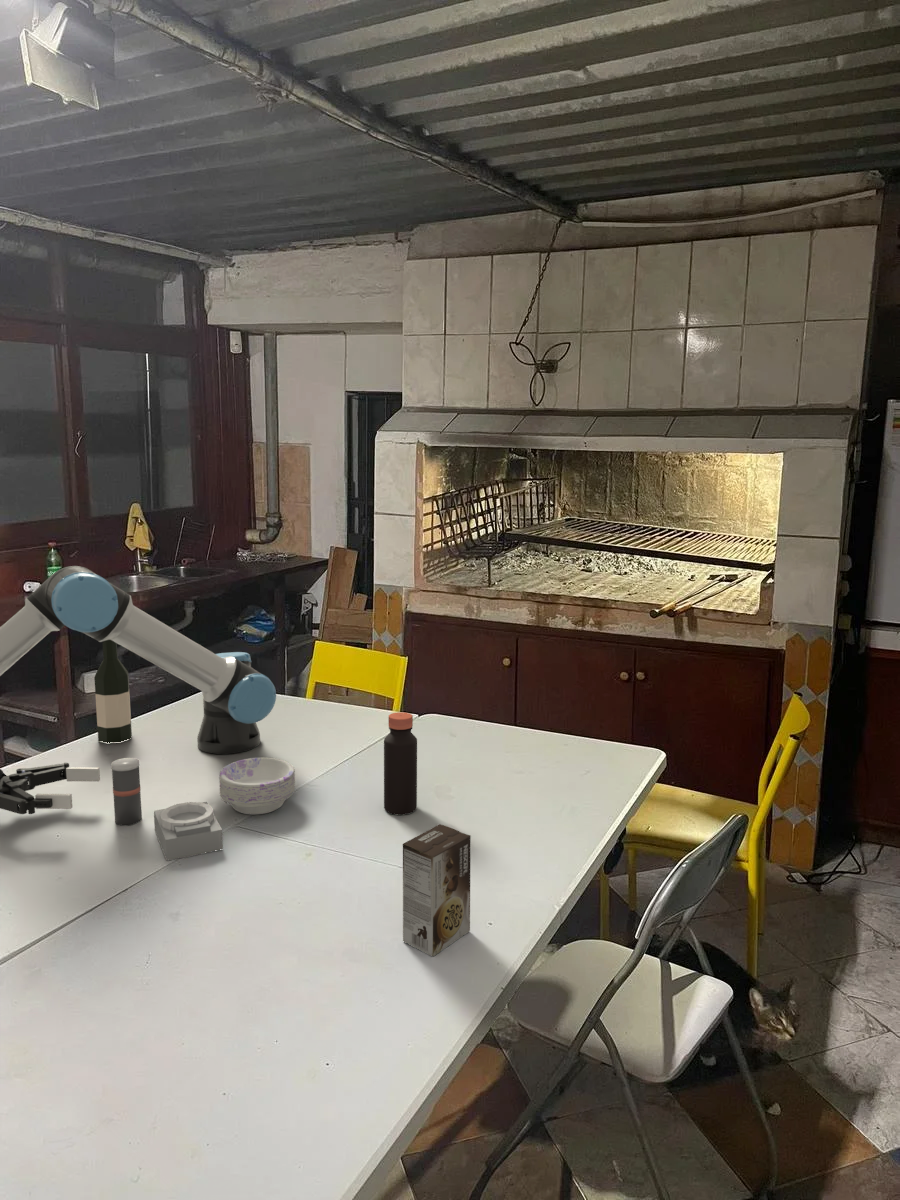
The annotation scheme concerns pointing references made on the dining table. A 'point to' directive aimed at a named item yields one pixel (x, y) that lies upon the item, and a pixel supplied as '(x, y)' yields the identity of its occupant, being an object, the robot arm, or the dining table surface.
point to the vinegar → (400, 765)
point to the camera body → (187, 830)
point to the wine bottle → (112, 697)
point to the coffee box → (436, 889)
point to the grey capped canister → (126, 791)
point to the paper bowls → (257, 784)
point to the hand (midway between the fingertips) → (85, 787)
